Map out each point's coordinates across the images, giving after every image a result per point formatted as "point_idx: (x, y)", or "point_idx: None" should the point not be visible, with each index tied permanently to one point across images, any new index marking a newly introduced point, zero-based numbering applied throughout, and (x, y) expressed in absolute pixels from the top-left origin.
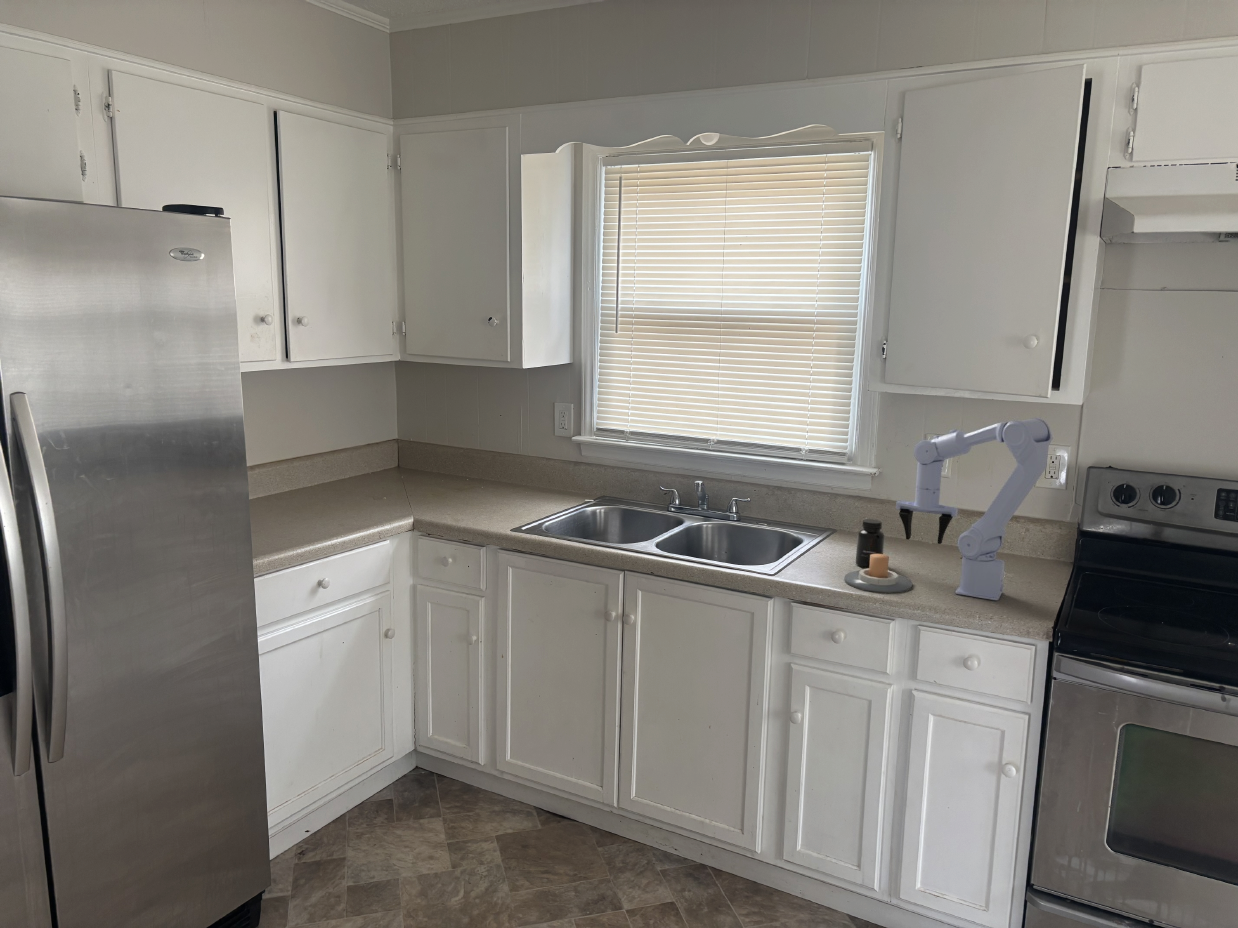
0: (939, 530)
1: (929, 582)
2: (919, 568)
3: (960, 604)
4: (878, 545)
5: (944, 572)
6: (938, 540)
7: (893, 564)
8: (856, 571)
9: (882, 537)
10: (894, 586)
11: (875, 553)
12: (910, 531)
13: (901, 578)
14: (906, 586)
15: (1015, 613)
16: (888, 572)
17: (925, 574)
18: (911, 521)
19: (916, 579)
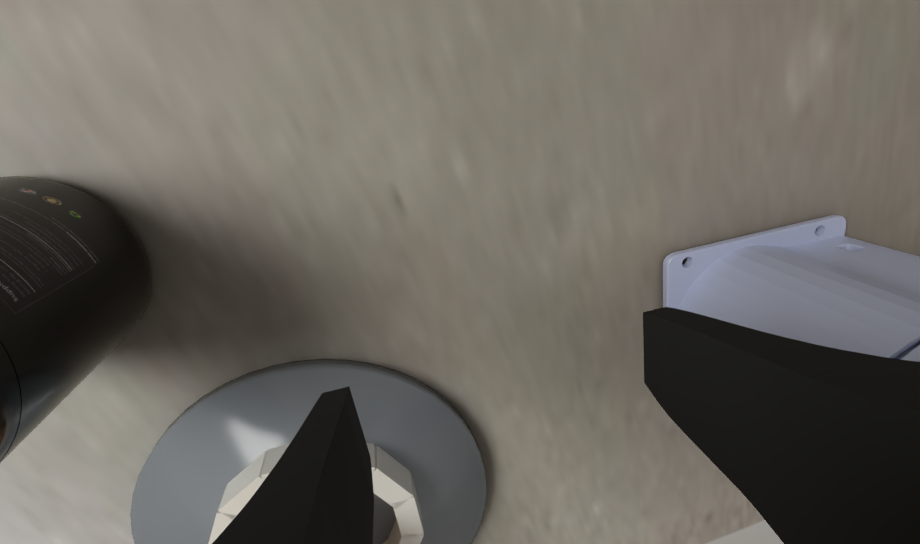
0: (766, 511)
1: (516, 317)
2: (351, 76)
3: (698, 479)
4: (55, 397)
5: (517, 50)
6: (673, 409)
7: (156, 111)
8: (146, 494)
9: (4, 401)
10: (435, 537)
11: (87, 374)
12: (347, 453)
13: (402, 420)
14: (476, 500)
15: None
16: None
17: (441, 190)
18: (315, 530)
19: (443, 320)
